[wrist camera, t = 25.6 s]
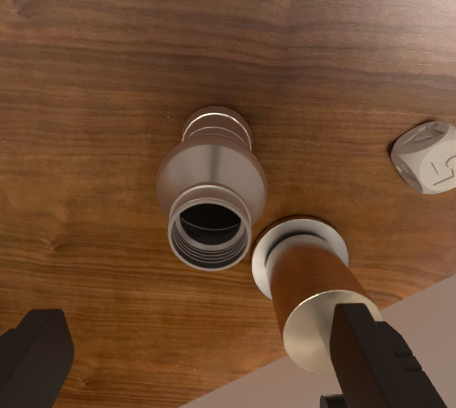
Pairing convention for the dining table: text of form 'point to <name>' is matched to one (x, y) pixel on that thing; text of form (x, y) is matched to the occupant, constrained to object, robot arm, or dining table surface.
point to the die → (427, 157)
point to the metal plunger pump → (307, 289)
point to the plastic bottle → (212, 190)
